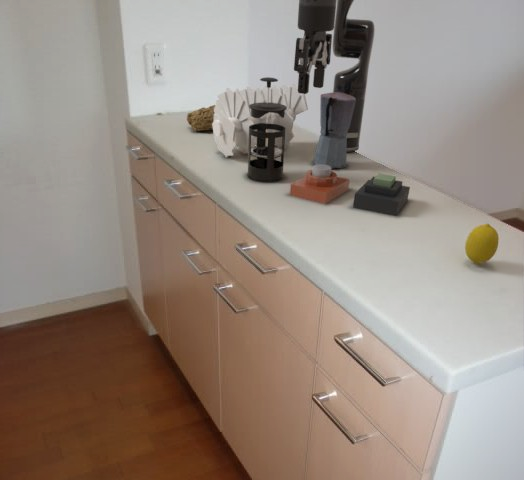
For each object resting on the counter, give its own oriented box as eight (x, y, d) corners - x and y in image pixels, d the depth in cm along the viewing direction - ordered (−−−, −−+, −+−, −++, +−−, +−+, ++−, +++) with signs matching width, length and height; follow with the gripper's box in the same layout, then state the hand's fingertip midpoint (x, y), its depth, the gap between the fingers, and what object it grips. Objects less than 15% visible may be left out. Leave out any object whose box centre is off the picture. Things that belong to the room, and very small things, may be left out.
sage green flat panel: (377, 180, 127) (378, 173, 126) (394, 183, 126) (395, 176, 125) (372, 185, 124) (374, 178, 123) (390, 188, 123) (391, 181, 122)
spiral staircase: (211, 168, 158) (282, 152, 169) (239, 155, 143) (315, 139, 154) (193, 101, 154) (268, 89, 164) (220, 81, 138) (300, 70, 149)
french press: (288, 182, 138) (295, 82, 125) (252, 184, 136) (254, 82, 122) (276, 168, 147) (281, 73, 134) (242, 169, 145) (243, 73, 132)
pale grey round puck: (317, 171, 133) (318, 163, 132) (333, 175, 131) (334, 166, 130) (308, 176, 130) (309, 167, 129) (325, 180, 128) (325, 171, 127)
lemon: (456, 257, 106) (466, 218, 101) (484, 257, 106) (495, 218, 101) (467, 271, 101) (478, 230, 96) (496, 270, 102) (509, 230, 97)
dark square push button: (366, 193, 133) (369, 172, 131) (407, 201, 130) (411, 180, 127) (352, 208, 125) (355, 186, 122) (396, 216, 122) (400, 194, 119)
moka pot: (352, 160, 156) (362, 82, 144) (341, 176, 144) (350, 93, 132) (320, 155, 158) (327, 79, 146) (305, 171, 146) (312, 89, 134)
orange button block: (314, 182, 139) (315, 164, 136) (348, 190, 135) (350, 171, 132) (289, 195, 131) (291, 176, 128) (325, 204, 127) (327, 184, 124)
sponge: (198, 138, 173) (255, 121, 177) (190, 112, 169) (249, 95, 173) (187, 136, 184) (241, 119, 188) (180, 111, 180) (236, 95, 184)
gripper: (321, 5, 104) (314, 98, 114) (347, 2, 115) (338, 87, 124) (285, 3, 107) (281, 93, 116) (313, 0, 117) (307, 83, 127)
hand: (310, 90), depth 120 cm, fingers open, 8 cm apart
